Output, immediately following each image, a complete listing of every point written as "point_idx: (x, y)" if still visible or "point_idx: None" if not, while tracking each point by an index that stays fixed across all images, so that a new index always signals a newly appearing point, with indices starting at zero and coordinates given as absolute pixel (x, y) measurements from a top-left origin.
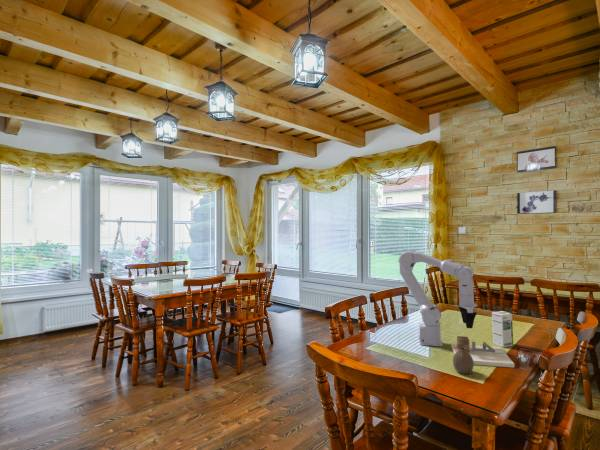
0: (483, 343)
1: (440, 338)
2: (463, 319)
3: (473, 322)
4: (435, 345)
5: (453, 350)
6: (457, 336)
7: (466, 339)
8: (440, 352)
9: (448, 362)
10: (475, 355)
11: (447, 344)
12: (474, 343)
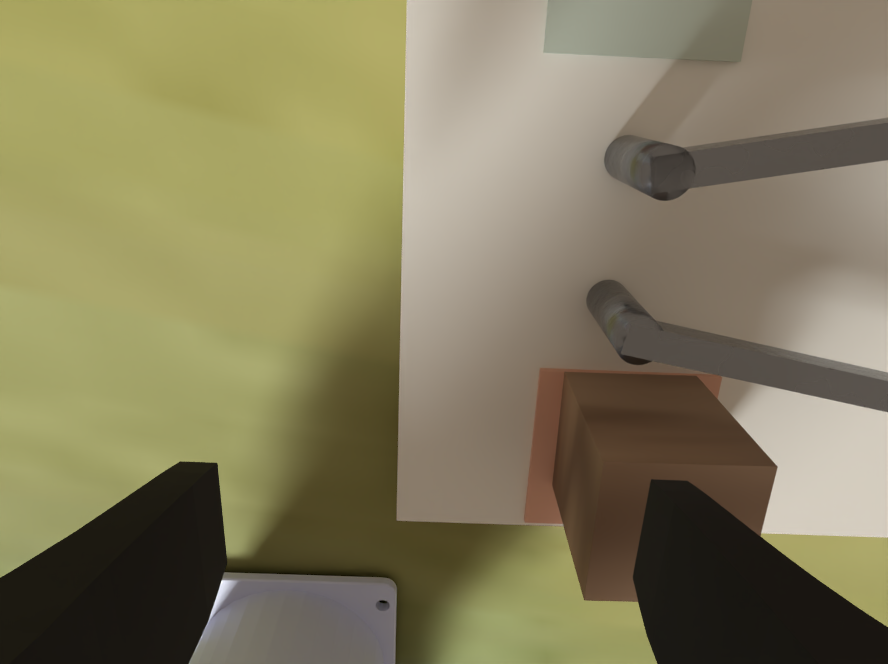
0: (680, 190)
1: (307, 643)
2: (188, 641)
3: (800, 569)
4: (394, 644)
5: None
6: (599, 596)
7: (760, 503)
8: (580, 615)
9: (862, 588)
10: (811, 329)
11: (293, 515)
12: (713, 347)
